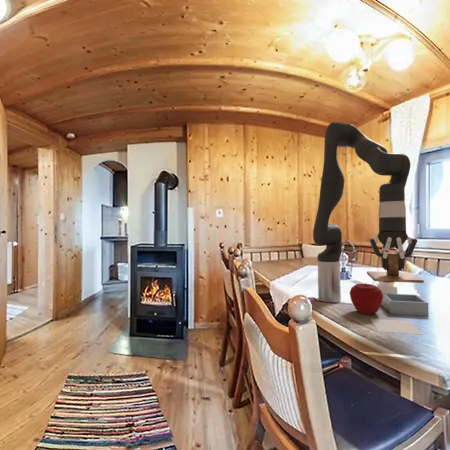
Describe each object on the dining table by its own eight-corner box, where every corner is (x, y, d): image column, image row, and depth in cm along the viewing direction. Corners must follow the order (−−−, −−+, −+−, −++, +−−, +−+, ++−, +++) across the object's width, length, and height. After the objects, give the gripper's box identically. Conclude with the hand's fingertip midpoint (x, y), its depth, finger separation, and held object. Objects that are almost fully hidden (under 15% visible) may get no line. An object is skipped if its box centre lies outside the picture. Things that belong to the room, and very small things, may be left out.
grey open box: (390, 314, 106) (390, 301, 106) (382, 305, 117) (382, 293, 117) (428, 317, 102) (428, 302, 102) (416, 307, 114) (416, 294, 114)
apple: (344, 312, 111) (343, 281, 111) (364, 308, 115) (363, 278, 115) (368, 320, 101) (367, 286, 100) (390, 316, 105) (389, 283, 105)
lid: (374, 281, 89) (374, 255, 89) (366, 273, 101) (366, 251, 101) (423, 282, 85) (423, 256, 85) (409, 274, 98) (409, 251, 97)
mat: (377, 333, 89) (377, 331, 89) (370, 320, 101) (370, 318, 101) (422, 336, 86) (422, 334, 86) (409, 322, 97) (409, 321, 97)
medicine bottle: (395, 300, 125) (395, 272, 125) (397, 304, 119) (396, 275, 119) (376, 298, 128) (376, 271, 128) (377, 303, 122) (377, 274, 122)
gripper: (369, 216, 91) (370, 271, 92) (421, 215, 87) (422, 272, 88) (365, 216, 99) (366, 267, 99) (413, 215, 95) (414, 268, 95)
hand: (392, 269), depth 93 cm, fingers closed on lid, 3 cm apart
